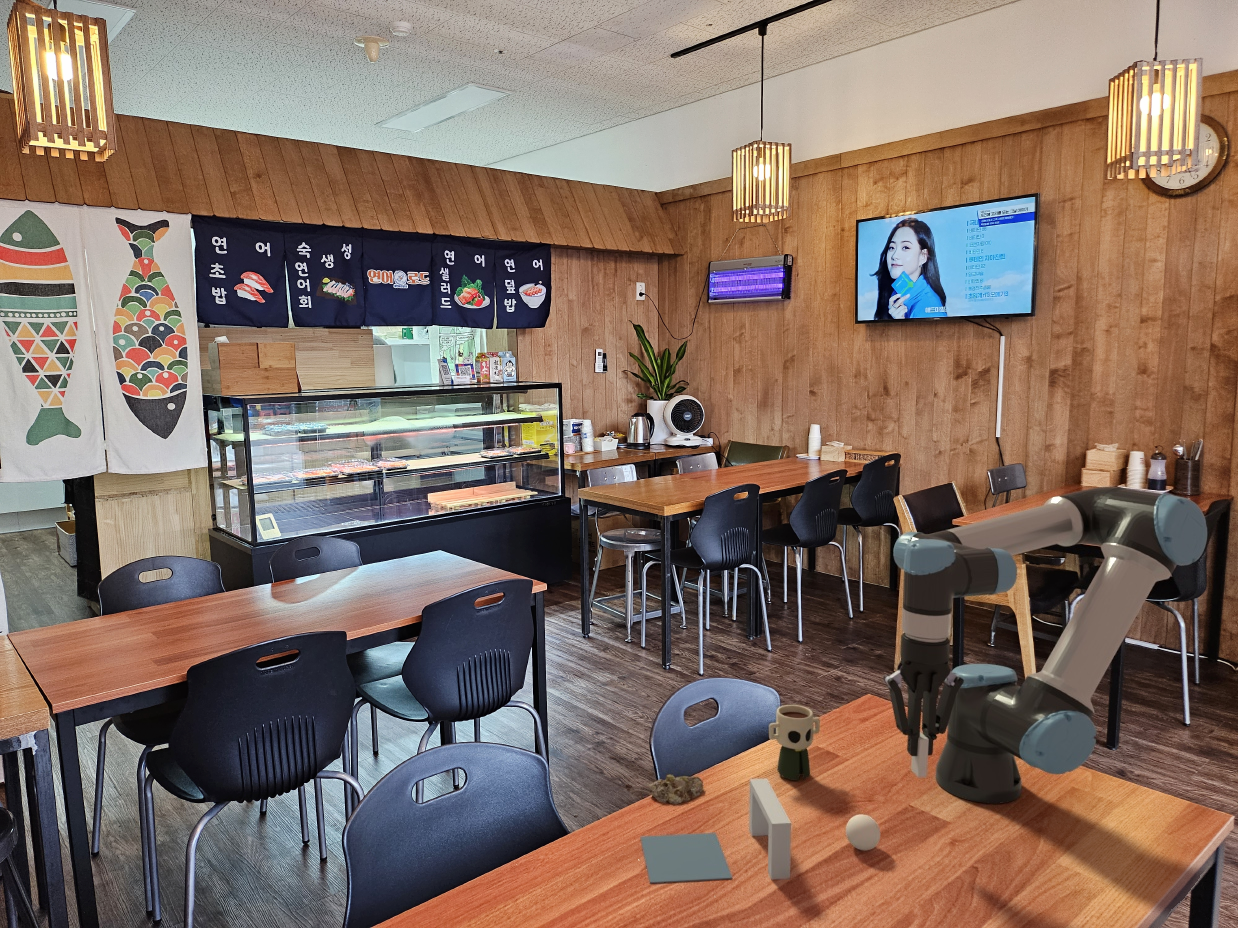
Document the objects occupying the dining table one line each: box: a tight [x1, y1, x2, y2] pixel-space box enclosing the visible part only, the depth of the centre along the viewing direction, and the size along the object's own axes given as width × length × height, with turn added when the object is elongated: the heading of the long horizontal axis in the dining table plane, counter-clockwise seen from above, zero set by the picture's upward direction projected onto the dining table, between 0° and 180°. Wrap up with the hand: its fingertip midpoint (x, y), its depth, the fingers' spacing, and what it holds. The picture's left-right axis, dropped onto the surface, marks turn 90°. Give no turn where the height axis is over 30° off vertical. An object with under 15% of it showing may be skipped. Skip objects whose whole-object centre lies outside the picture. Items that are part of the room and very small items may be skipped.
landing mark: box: [639, 832, 733, 884], centre depth 139 cm, size 13×13×1 cm
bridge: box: [748, 778, 792, 880], centre depth 140 cm, size 3×14×9 cm, turn 5°
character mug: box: [768, 704, 821, 781], centre depth 166 cm, size 11×7×13 cm, turn 107°
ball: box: [845, 814, 881, 851], centre depth 142 cm, size 6×6×6 cm
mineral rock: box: [648, 774, 704, 805], centre depth 160 cm, size 11×4×8 cm
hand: (918, 773), depth 141 cm, fingers closed
